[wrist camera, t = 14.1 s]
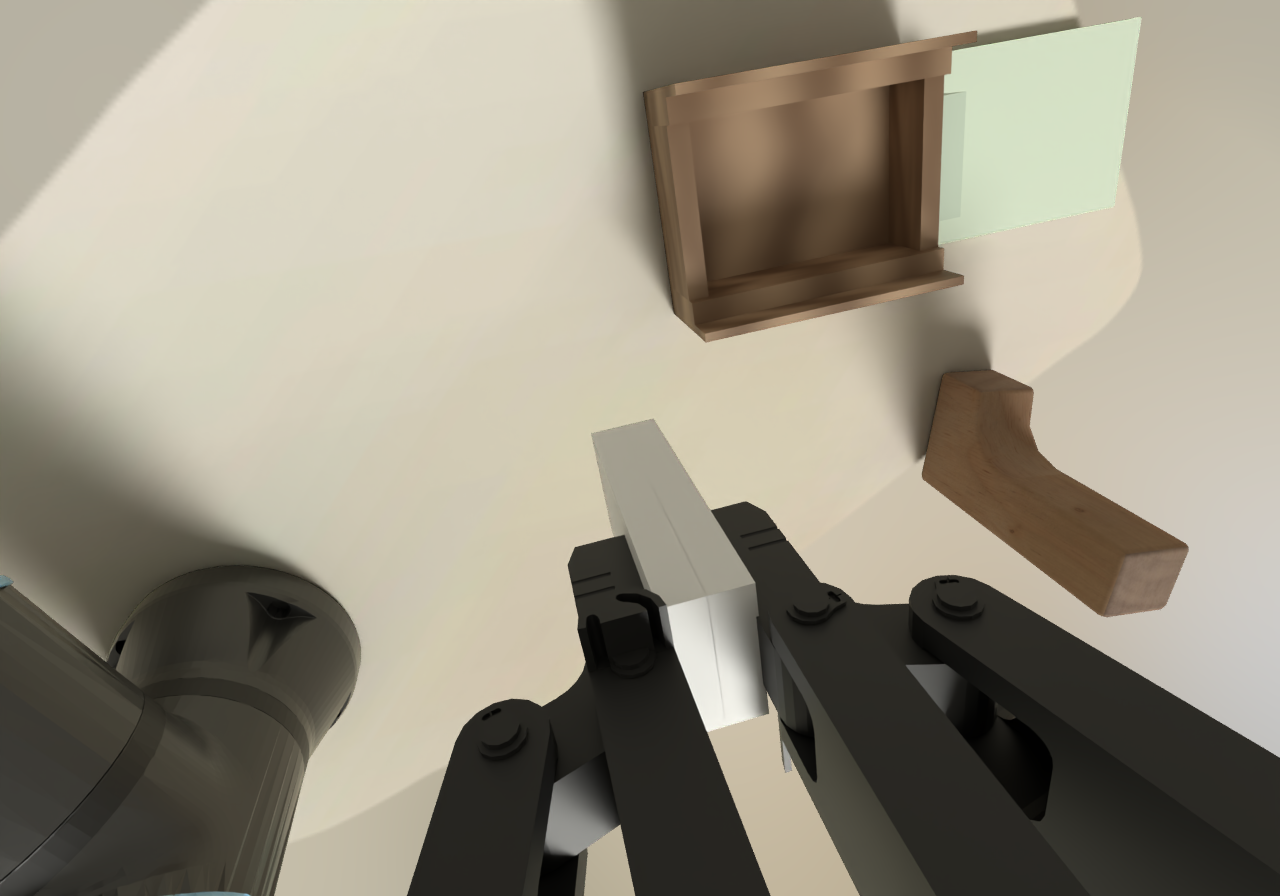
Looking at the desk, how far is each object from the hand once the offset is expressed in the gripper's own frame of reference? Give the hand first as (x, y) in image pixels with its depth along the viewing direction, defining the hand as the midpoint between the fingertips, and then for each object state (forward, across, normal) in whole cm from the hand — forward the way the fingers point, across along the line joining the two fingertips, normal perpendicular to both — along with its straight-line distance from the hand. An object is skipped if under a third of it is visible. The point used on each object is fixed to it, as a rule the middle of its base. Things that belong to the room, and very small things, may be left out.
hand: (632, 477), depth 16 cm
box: (+28, +16, +2) cm, 33 cm away
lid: (+29, +32, +2) cm, 43 cm away
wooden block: (+29, +29, -18) cm, 45 cm away
